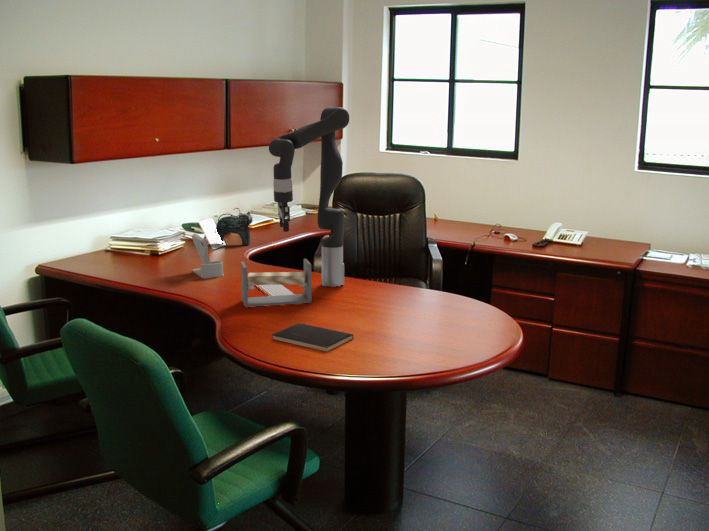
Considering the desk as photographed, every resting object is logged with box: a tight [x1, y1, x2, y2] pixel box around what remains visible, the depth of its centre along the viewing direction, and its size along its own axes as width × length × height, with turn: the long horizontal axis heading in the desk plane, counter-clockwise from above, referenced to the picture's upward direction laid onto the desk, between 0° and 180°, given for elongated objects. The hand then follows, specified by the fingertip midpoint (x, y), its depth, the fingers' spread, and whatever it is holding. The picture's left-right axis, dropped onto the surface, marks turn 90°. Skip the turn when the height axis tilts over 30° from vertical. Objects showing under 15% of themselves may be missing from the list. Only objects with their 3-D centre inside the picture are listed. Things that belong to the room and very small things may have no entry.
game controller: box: [215, 207, 253, 247], centre depth 412 cm, size 20×6×20 cm, turn 79°
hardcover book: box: [271, 322, 354, 352], centre depth 265 cm, size 16×23×2 cm
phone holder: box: [190, 233, 225, 280], centre depth 351 cm, size 17×10×18 cm, turn 29°
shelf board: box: [247, 271, 305, 286], centre depth 306 cm, size 22×6×4 cm, turn 95°
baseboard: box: [247, 278, 296, 296], centre depth 327 cm, size 31×3×12 cm
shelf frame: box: [240, 258, 313, 308], centre depth 306 cm, size 26×10×16 cm, turn 104°
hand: (284, 229), depth 312 cm, fingers open, 8 cm apart
